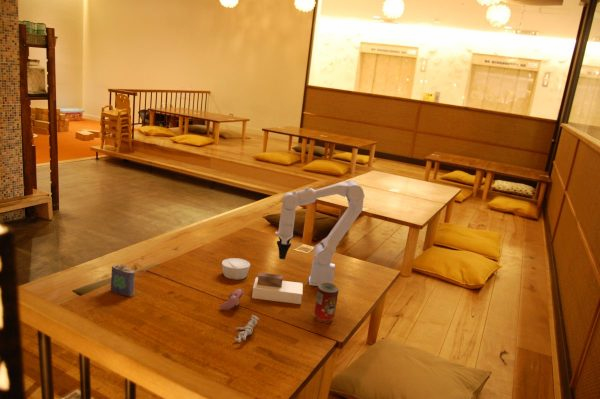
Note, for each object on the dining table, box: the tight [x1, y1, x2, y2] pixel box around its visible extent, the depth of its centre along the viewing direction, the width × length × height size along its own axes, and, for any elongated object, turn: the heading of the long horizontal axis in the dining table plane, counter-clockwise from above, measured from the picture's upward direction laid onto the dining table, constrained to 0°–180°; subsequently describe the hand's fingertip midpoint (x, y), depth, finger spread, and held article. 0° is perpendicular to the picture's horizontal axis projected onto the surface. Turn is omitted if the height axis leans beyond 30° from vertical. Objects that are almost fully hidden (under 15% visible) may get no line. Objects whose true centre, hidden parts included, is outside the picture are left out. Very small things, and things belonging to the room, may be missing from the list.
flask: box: [109, 263, 136, 298], centre depth 161 cm, size 9×3×11 cm, turn 68°
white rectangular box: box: [251, 276, 304, 305], centre depth 177 cm, size 18×10×4 cm, turn 89°
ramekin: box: [221, 257, 251, 281], centre depth 190 cm, size 11×11×5 cm
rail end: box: [257, 272, 284, 288], centre depth 176 cm, size 9×3×6 cm, turn 89°
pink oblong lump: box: [219, 288, 245, 311], centre depth 164 cm, size 10×5×7 cm, turn 169°
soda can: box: [314, 283, 340, 324], centre depth 163 cm, size 7×7×12 cm
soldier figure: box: [234, 314, 260, 343], centre depth 147 cm, size 8×5×12 cm
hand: (282, 255), depth 190 cm, fingers open, 7 cm apart
